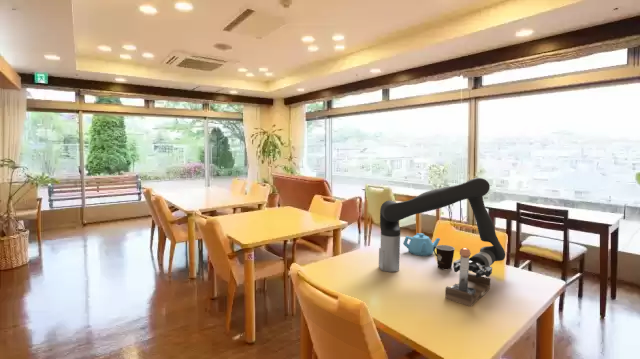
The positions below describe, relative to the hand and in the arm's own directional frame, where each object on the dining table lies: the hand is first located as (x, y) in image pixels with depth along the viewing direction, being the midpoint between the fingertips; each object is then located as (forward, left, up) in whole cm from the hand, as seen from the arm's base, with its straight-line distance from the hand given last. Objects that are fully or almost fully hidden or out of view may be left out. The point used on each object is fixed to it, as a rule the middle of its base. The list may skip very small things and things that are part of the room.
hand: (465, 272), depth 141 cm
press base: (+3, +2, -10) cm, 11 cm away
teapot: (+6, +55, -10) cm, 57 cm away
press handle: (-2, -1, -8) cm, 8 cm away
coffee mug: (+8, +33, -10) cm, 36 cm away
